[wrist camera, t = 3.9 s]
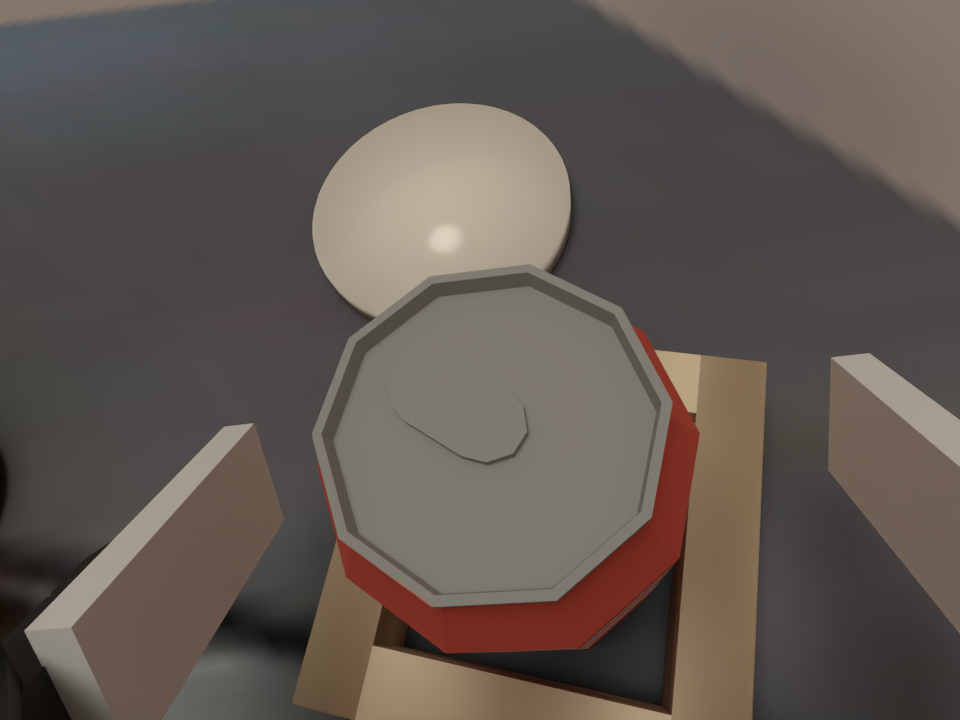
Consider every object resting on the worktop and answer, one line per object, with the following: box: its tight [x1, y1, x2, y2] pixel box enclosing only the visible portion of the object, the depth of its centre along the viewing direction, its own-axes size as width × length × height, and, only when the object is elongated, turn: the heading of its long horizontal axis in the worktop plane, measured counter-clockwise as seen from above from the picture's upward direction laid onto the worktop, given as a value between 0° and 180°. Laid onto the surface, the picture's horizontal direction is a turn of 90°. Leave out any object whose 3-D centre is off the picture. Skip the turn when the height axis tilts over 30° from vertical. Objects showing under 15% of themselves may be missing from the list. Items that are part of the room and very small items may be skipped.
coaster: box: [313, 103, 571, 320], centre depth 25 cm, size 10×10×1 cm
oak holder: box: [292, 350, 767, 720], centre depth 19 cm, size 11×11×3 cm
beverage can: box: [312, 264, 700, 653], centre depth 15 cm, size 6×6×12 cm
